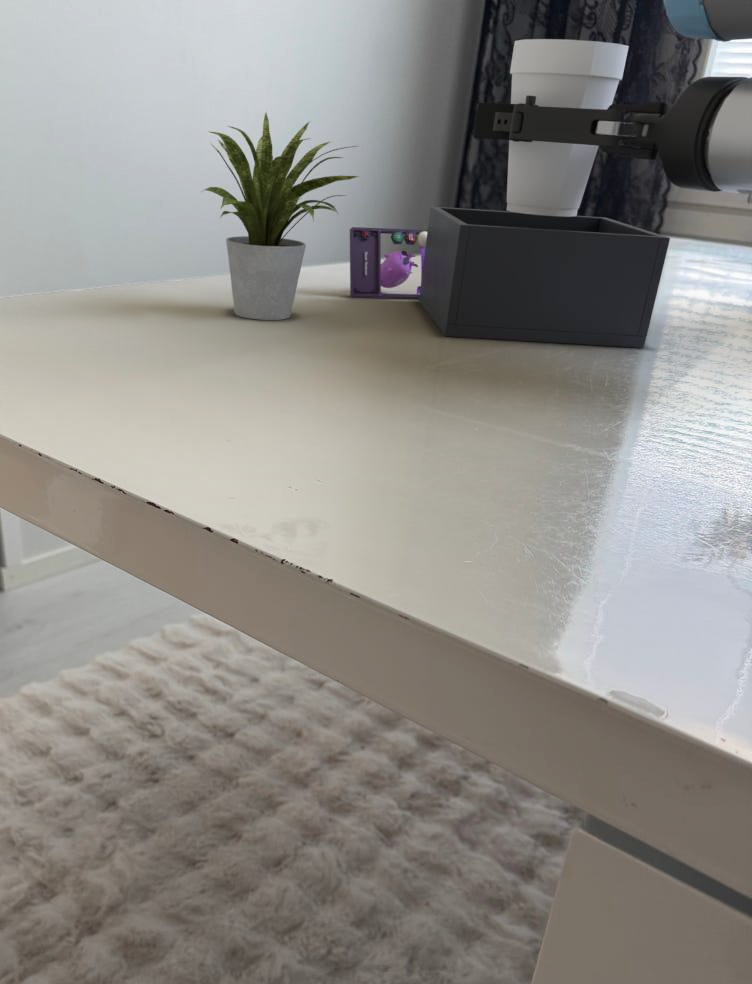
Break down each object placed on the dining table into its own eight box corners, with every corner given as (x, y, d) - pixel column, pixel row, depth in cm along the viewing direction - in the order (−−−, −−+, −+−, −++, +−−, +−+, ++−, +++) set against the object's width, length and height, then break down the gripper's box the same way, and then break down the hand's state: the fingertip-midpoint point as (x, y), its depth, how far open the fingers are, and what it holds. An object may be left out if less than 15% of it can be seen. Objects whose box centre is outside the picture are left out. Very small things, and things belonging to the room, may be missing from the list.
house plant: (285, 340, 78) (300, 112, 70) (150, 315, 84) (150, 102, 76) (364, 318, 89) (384, 118, 81) (239, 297, 95) (247, 109, 87)
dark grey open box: (586, 311, 99) (606, 217, 95) (643, 348, 84) (670, 237, 80) (418, 301, 99) (430, 206, 95) (444, 336, 83) (460, 224, 79)
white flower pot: (554, 208, 92) (583, 50, 86) (616, 219, 85) (653, 47, 78) (469, 205, 89) (493, 41, 83) (526, 217, 81) (557, 37, 75)
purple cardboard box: (353, 225, 97) (435, 228, 99) (337, 237, 102) (416, 240, 104) (353, 294, 98) (435, 296, 100) (338, 303, 103) (416, 305, 105)
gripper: (621, 189, 67) (420, 165, 83) (808, 194, 77) (596, 172, 94) (648, 64, 63) (432, 65, 80) (840, 87, 73) (614, 84, 90)
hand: (521, 123), depth 87 cm, fingers closed on white flower pot, 9 cm apart
